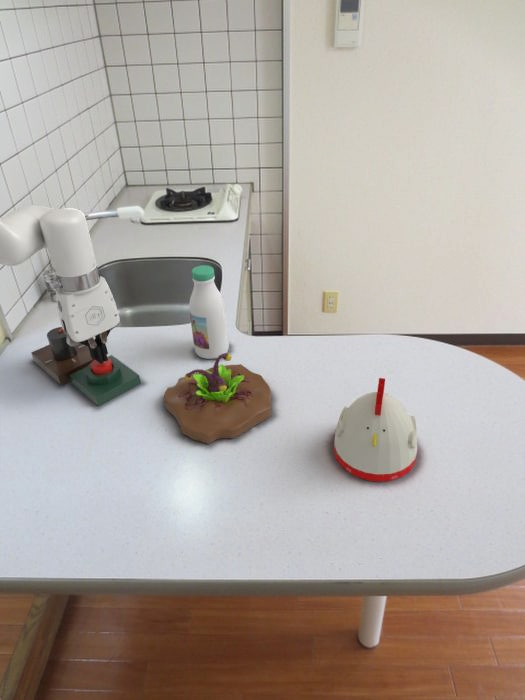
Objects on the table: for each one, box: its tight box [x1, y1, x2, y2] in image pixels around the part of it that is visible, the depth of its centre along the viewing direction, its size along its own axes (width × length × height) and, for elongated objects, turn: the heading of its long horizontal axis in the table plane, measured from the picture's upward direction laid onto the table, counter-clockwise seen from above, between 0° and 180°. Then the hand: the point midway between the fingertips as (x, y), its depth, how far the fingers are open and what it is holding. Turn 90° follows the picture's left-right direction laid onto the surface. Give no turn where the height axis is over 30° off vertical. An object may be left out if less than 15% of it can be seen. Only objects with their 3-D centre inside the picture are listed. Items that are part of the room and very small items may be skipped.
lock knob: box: [46, 326, 77, 360], centre depth 114 cm, size 5×5×6 cm
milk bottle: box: [188, 264, 230, 360], centre depth 113 cm, size 8×8×20 cm
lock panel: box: [30, 343, 94, 386], centre depth 116 cm, size 13×10×3 cm
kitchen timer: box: [333, 377, 419, 483], centre depth 86 cm, size 14×14×15 cm
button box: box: [70, 354, 142, 407], centre depth 109 cm, size 11×10×4 cm
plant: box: [163, 352, 272, 445], centre depth 99 cm, size 20×20×11 cm
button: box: [91, 358, 113, 375], centre depth 107 cm, size 4×4×2 cm
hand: (100, 359), depth 106 cm, fingers closed
